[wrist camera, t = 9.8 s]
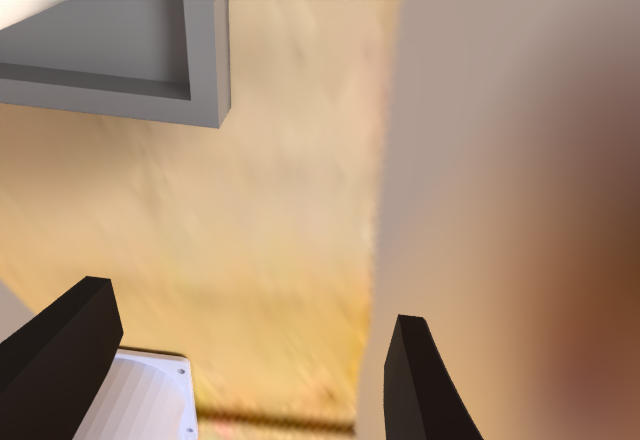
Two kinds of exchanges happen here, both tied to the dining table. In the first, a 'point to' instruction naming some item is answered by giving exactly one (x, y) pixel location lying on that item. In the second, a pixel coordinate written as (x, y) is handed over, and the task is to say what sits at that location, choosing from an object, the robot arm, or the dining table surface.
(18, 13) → the salt shaker
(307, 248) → the dining table surface
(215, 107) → the gray tray
